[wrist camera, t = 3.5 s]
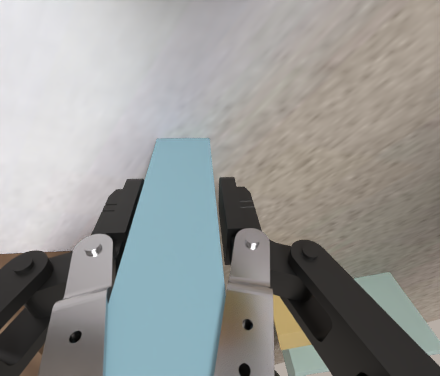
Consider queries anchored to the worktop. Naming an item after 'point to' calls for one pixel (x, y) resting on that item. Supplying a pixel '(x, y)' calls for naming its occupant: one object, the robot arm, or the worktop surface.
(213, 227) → the long peg
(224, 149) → the worktop surface
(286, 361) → the l-shaped corner panel
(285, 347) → the short peg
